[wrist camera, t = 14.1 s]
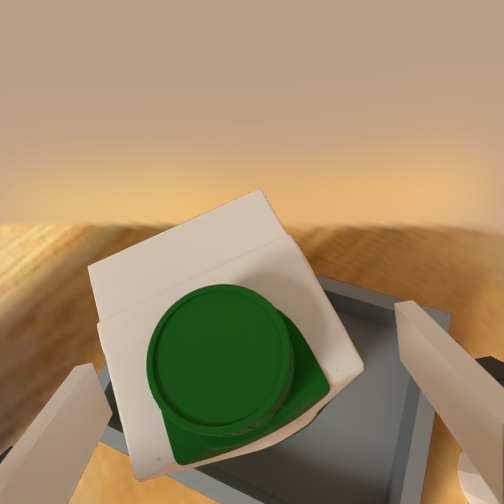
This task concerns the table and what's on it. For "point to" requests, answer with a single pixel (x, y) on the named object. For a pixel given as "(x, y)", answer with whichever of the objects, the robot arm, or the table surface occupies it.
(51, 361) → the table surface
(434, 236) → the table surface
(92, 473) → the table surface
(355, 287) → the bin
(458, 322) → the table surface
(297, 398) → the soya milk
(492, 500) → the white round container
